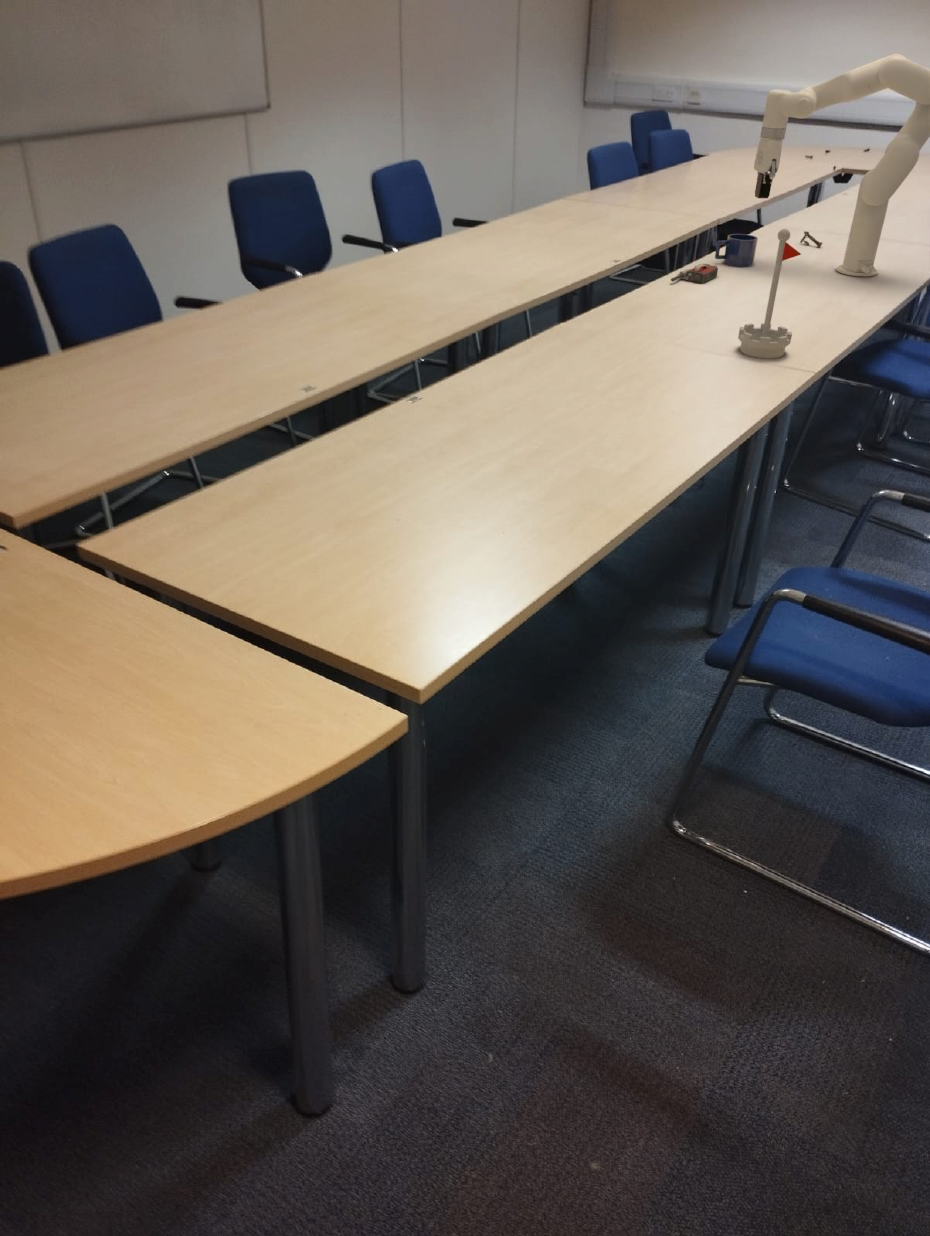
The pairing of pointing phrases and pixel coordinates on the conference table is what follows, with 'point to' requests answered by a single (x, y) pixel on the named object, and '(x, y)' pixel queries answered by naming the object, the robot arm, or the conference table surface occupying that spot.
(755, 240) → the mug
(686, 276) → the walkie-talkie
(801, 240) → the wooden post with brackets
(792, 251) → the flag stand
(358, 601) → the conference table surface
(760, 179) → the walnut peg
